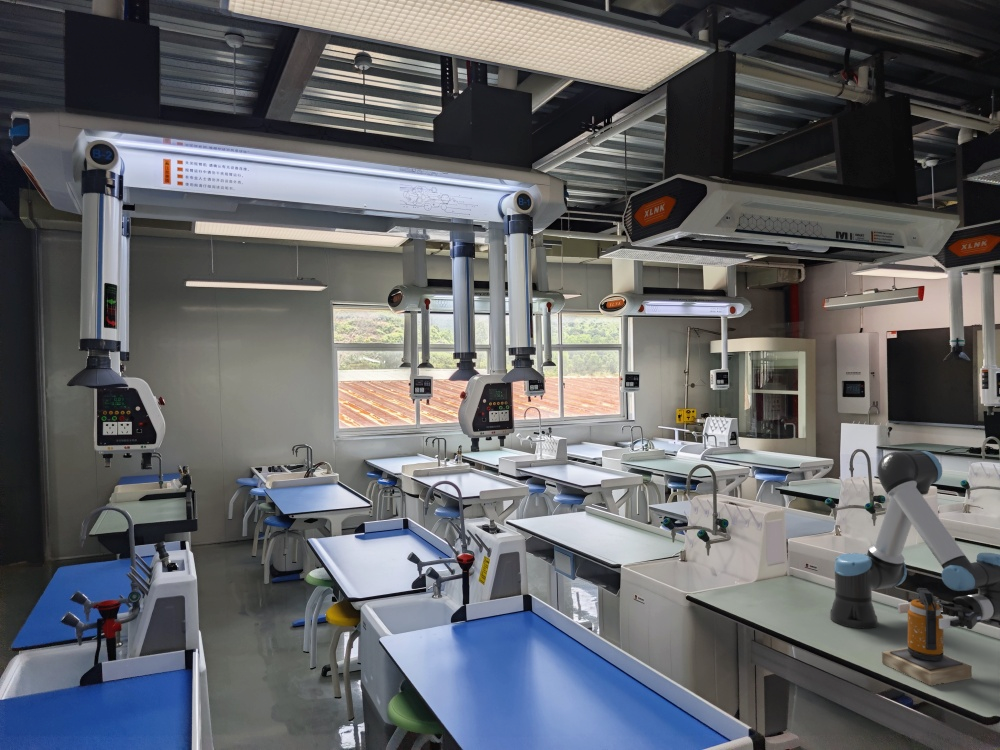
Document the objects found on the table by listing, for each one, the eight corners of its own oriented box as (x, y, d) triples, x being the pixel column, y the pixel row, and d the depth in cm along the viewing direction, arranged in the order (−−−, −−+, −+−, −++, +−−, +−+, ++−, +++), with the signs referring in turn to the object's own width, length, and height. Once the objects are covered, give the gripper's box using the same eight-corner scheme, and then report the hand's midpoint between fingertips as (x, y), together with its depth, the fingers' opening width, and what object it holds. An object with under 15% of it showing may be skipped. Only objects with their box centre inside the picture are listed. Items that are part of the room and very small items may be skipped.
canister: (937, 652, 202) (937, 586, 202) (950, 667, 191) (950, 597, 191) (903, 648, 204) (903, 583, 204) (915, 663, 194) (914, 595, 194)
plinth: (882, 663, 203) (882, 650, 203) (921, 656, 208) (921, 643, 208) (930, 686, 188) (930, 671, 188) (971, 678, 193) (971, 664, 193)
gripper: (1013, 635, 192) (959, 644, 186) (933, 607, 216) (883, 614, 209) (1013, 609, 192) (958, 617, 186) (933, 584, 216) (882, 591, 210)
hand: (918, 616), depth 198 cm, fingers open, 13 cm apart
